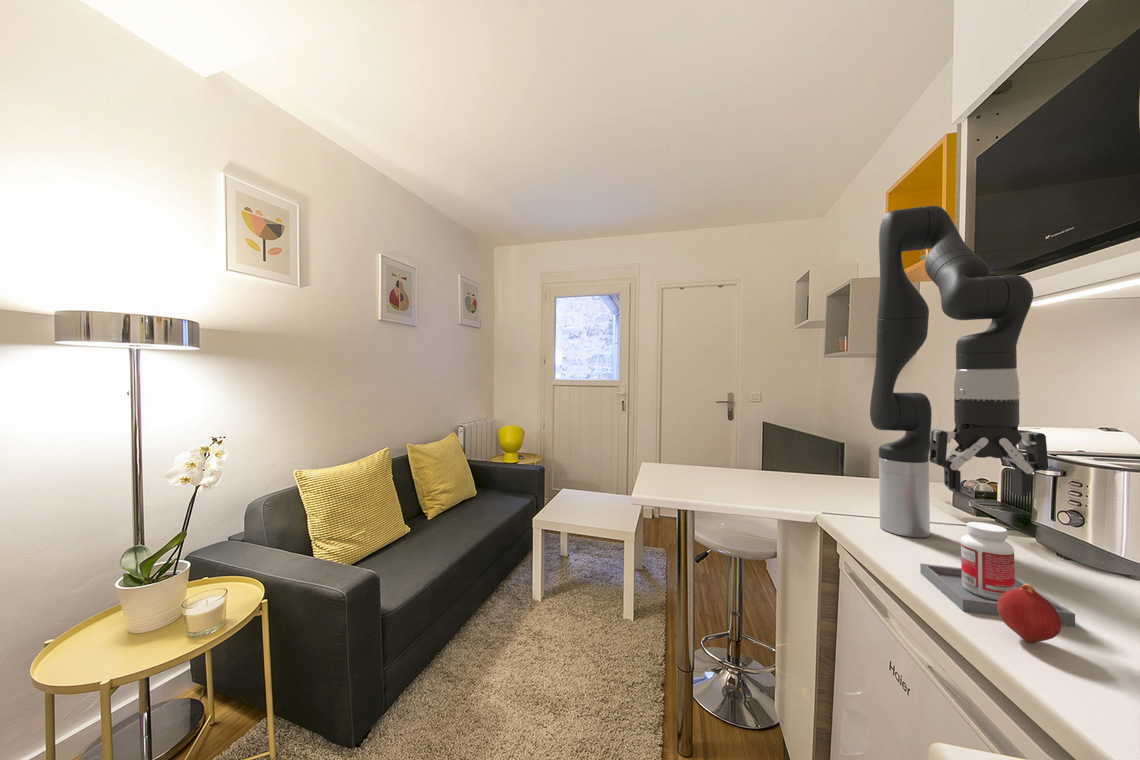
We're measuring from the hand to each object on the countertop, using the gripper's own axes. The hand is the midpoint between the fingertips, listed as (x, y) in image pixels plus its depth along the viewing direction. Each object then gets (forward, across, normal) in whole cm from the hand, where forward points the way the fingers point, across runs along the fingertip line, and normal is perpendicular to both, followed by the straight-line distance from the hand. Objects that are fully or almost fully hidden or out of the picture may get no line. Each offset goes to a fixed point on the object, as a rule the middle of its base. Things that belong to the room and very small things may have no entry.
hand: (986, 493), depth 67 cm
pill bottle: (+17, 0, 0) cm, 17 cm away
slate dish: (+17, 0, 0) cm, 17 cm away
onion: (+17, +2, +13) cm, 22 cm away
